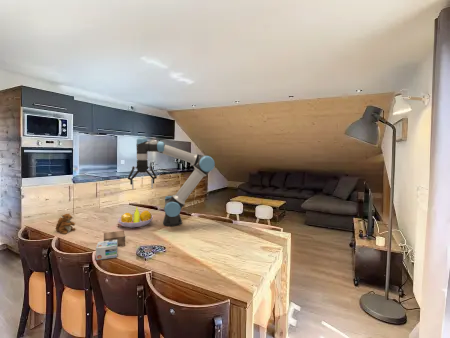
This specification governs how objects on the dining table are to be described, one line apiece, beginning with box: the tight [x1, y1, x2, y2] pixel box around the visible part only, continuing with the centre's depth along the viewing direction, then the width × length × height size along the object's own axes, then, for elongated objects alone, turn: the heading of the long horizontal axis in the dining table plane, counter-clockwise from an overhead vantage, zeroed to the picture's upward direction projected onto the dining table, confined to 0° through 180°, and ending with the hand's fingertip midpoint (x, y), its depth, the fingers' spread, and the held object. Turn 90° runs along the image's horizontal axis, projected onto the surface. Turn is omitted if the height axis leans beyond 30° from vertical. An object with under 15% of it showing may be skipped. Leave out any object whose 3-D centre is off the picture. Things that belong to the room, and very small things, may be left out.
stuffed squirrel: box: [55, 213, 77, 235], centre depth 176 cm, size 10×14×13 cm
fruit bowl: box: [117, 206, 154, 229], centre depth 194 cm, size 28×27×11 cm
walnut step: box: [103, 230, 126, 248], centre depth 155 cm, size 12×12×6 cm
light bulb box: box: [95, 240, 119, 261], centre depth 138 cm, size 11×7×11 cm
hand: (142, 188), depth 178 cm, fingers open, 13 cm apart
